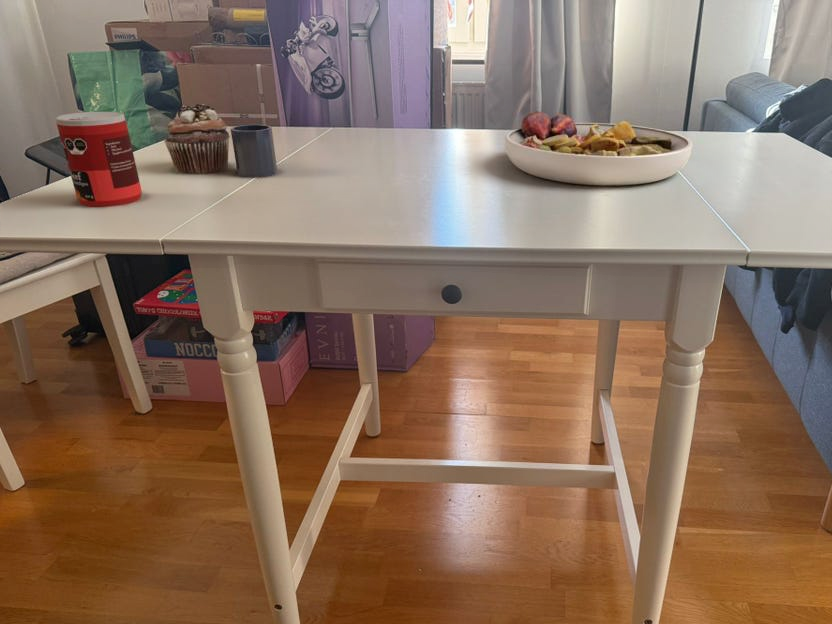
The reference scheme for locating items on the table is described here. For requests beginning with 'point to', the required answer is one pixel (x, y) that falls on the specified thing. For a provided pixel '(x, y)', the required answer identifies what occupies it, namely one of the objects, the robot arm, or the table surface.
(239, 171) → the pot
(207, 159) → the cupcake
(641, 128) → the bowl
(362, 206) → the table surface
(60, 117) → the canned food
